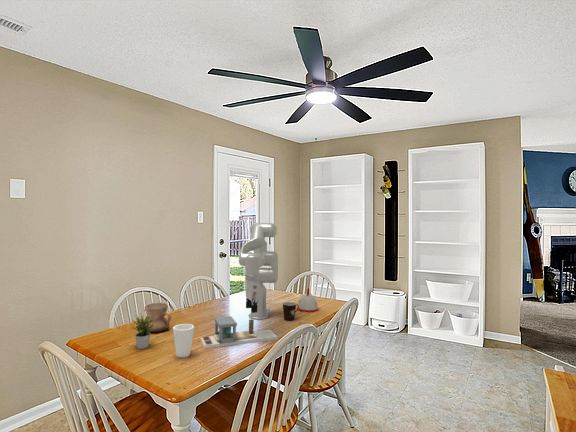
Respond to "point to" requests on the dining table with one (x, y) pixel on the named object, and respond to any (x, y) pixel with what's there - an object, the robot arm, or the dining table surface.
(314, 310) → the grey service bell
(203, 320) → the dining table surface
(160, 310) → the ceramic jug
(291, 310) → the coffee mug
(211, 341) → the tunnel board
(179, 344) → the foam cup
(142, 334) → the house plant
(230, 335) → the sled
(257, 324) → the dining table surface
